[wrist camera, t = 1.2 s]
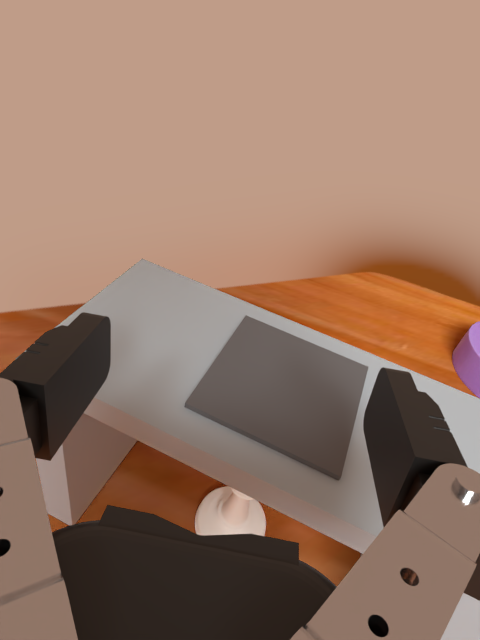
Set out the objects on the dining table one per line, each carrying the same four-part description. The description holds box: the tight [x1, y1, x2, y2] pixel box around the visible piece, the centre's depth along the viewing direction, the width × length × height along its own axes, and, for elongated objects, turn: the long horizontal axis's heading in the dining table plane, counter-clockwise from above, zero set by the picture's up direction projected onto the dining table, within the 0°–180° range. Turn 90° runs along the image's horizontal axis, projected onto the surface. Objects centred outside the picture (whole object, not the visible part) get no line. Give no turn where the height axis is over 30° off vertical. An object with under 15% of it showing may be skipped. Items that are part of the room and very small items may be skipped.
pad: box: [185, 315, 368, 481], centre depth 20 cm, size 7×7×1 cm
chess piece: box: [195, 486, 266, 536], centre depth 27 cm, size 5×5×10 cm
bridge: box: [16, 259, 480, 640], centre depth 25 cm, size 22×10×14 cm, turn 68°
